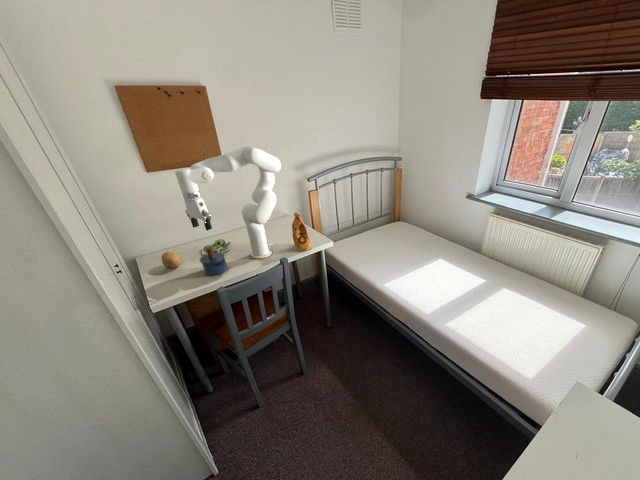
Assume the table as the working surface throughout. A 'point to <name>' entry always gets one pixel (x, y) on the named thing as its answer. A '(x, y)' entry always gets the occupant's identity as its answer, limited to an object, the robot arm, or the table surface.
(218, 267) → the pot
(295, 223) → the coffee package
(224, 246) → the salad plate
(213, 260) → the lid
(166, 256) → the potato
